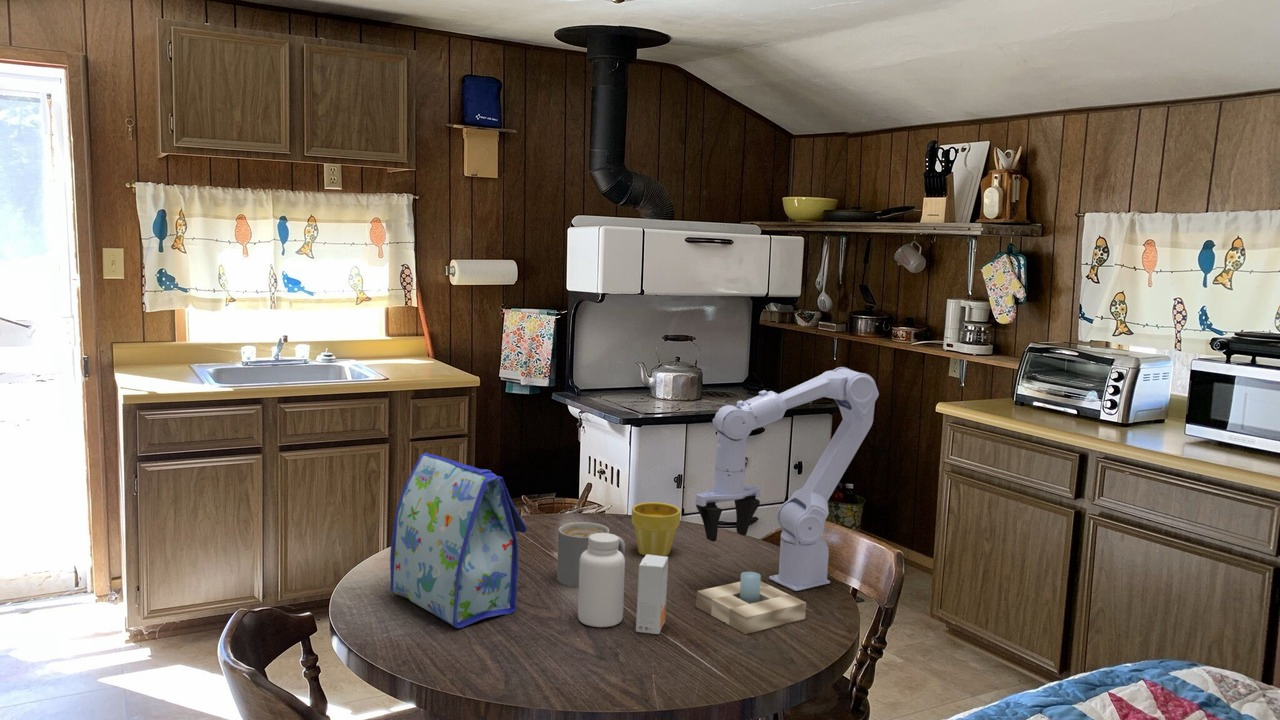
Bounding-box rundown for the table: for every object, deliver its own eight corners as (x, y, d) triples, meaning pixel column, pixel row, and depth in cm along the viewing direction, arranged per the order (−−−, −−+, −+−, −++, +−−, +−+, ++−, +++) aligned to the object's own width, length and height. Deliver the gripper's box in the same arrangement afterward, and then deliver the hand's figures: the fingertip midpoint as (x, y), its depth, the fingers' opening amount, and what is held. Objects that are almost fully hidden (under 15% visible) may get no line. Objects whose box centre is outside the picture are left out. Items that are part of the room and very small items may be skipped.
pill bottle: (629, 615, 171) (632, 533, 169) (613, 631, 163) (616, 546, 161) (588, 607, 173) (590, 527, 171) (570, 624, 166) (572, 540, 164)
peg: (750, 606, 177) (752, 570, 176) (762, 613, 174) (764, 576, 173) (734, 610, 175) (736, 573, 174) (746, 617, 172) (748, 579, 171)
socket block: (754, 593, 183) (755, 578, 183) (805, 618, 172) (806, 602, 172) (696, 606, 176) (696, 591, 175) (745, 634, 164) (746, 617, 164)
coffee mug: (557, 588, 182) (559, 537, 181) (556, 570, 192) (557, 521, 191) (627, 587, 184) (629, 537, 183) (622, 570, 194) (624, 522, 192)
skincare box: (659, 635, 162) (662, 567, 161) (635, 632, 163) (637, 564, 162) (666, 621, 168) (669, 556, 167) (642, 618, 169) (645, 553, 168)
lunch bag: (531, 609, 172) (534, 467, 168) (454, 634, 160) (456, 482, 156) (456, 576, 187) (458, 445, 183) (381, 597, 175) (382, 457, 171)
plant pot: (679, 562, 200) (681, 516, 198) (629, 560, 200) (631, 514, 199) (677, 546, 210) (679, 502, 209) (630, 544, 210) (632, 501, 209)
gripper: (744, 460, 191) (741, 526, 193) (687, 468, 183) (684, 536, 184) (768, 468, 185) (765, 535, 187) (710, 476, 177) (707, 547, 179)
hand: (726, 537), depth 185 cm, fingers open, 7 cm apart
